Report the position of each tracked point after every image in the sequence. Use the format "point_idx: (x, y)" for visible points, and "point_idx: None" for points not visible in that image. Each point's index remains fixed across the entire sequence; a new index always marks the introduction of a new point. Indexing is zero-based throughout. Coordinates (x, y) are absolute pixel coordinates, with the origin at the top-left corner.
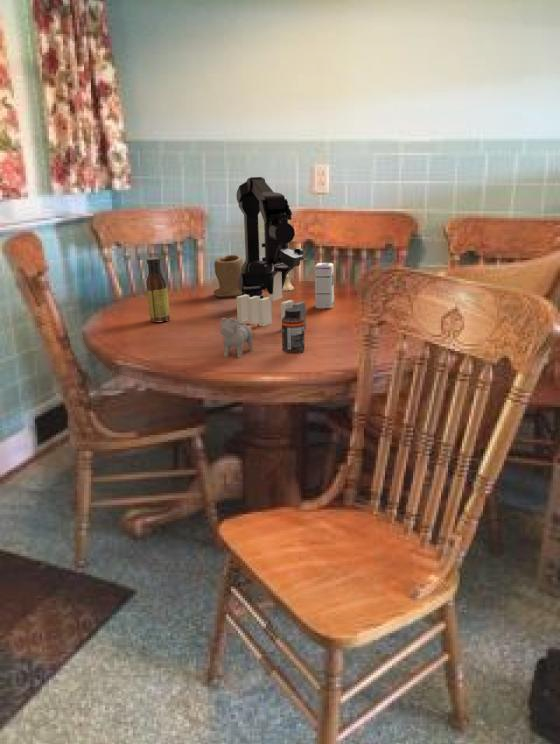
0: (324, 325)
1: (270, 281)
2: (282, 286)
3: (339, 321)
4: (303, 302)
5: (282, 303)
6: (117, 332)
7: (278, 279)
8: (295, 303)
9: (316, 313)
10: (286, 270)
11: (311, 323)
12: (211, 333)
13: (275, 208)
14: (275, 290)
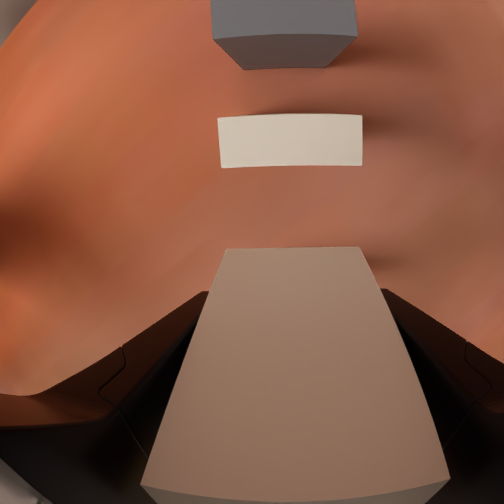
0: (136, 20)
1: (494, 366)
2: (190, 311)
3: (53, 33)
4: (227, 2)
5: (360, 146)
6: None
7: (268, 393)
8: (308, 33)
9: (20, 202)
10: (49, 448)
11: (139, 90)
12: (481, 335)
13: None
14: (341, 296)
